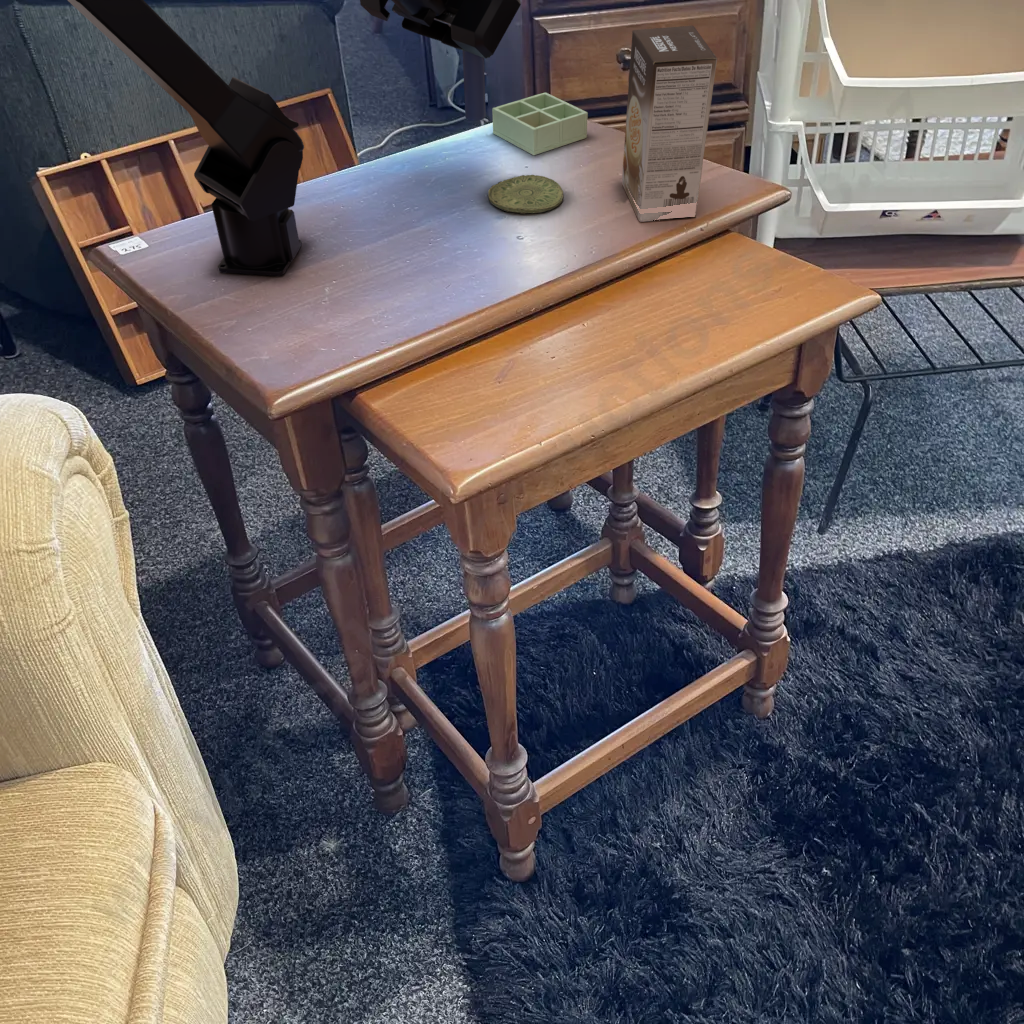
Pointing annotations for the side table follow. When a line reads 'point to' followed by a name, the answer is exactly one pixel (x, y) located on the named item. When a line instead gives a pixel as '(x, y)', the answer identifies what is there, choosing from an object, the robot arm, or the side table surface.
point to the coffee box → (666, 117)
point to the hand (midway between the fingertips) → (483, 50)
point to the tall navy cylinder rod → (474, 86)
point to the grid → (539, 123)
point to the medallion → (526, 194)
